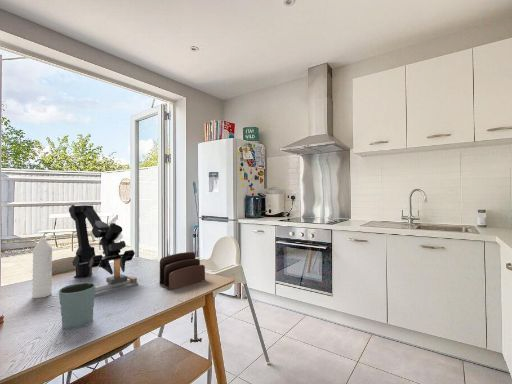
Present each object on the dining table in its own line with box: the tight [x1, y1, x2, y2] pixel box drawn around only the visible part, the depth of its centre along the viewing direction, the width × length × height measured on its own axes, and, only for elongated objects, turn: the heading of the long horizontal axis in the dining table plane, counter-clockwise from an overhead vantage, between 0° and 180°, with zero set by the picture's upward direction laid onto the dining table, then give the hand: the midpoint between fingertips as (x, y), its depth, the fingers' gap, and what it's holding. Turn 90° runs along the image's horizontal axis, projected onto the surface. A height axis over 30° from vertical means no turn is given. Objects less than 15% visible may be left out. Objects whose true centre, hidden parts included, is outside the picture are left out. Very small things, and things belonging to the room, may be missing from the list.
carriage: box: [106, 259, 128, 285], centre depth 122 cm, size 7×6×10 cm
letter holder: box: [159, 251, 206, 291], centre depth 128 cm, size 10×20×14 cm, turn 136°
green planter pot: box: [58, 282, 96, 330], centre depth 87 cm, size 10×10×12 cm
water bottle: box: [31, 235, 53, 299], centre depth 113 cm, size 9×6×25 cm
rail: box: [94, 275, 139, 298], centre depth 118 cm, size 26×9×3 cm, turn 140°
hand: (118, 272), depth 121 cm, fingers open, 5 cm apart
